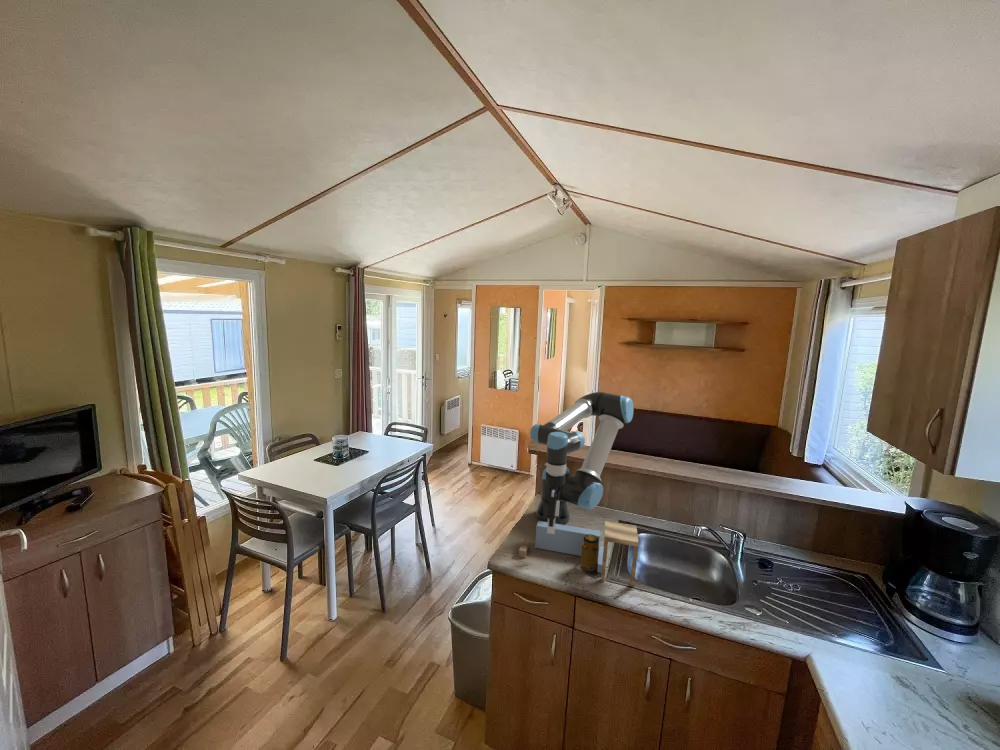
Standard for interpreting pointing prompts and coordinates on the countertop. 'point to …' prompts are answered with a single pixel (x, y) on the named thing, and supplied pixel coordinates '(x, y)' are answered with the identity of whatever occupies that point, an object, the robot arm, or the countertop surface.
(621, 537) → the shelf
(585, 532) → the crook
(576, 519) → the countertop surface
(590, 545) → the condiment
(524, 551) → the wooden block
